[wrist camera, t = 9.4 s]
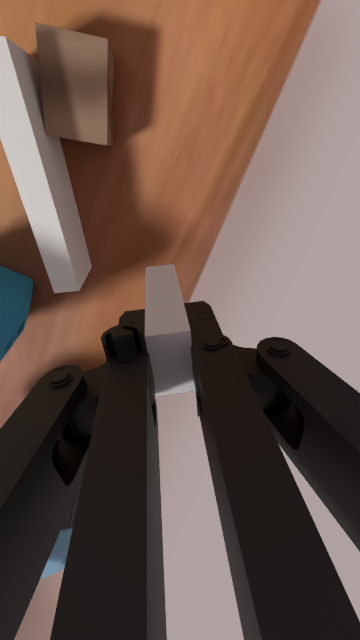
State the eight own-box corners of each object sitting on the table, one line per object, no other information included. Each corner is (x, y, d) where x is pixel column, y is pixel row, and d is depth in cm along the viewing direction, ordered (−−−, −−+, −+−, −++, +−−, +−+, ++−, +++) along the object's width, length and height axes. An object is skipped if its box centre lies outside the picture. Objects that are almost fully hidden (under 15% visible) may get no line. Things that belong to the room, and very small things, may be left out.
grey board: (91, 266, 40) (79, 290, 33) (71, 268, 39) (54, 293, 33) (41, 64, 28) (5, 36, 21) (11, 65, 28) (-35, 38, 21)
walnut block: (113, 146, 32) (107, 145, 28) (60, 137, 31) (45, 135, 27) (114, 55, 28) (107, 38, 24) (53, 42, 27) (35, 22, 23)
